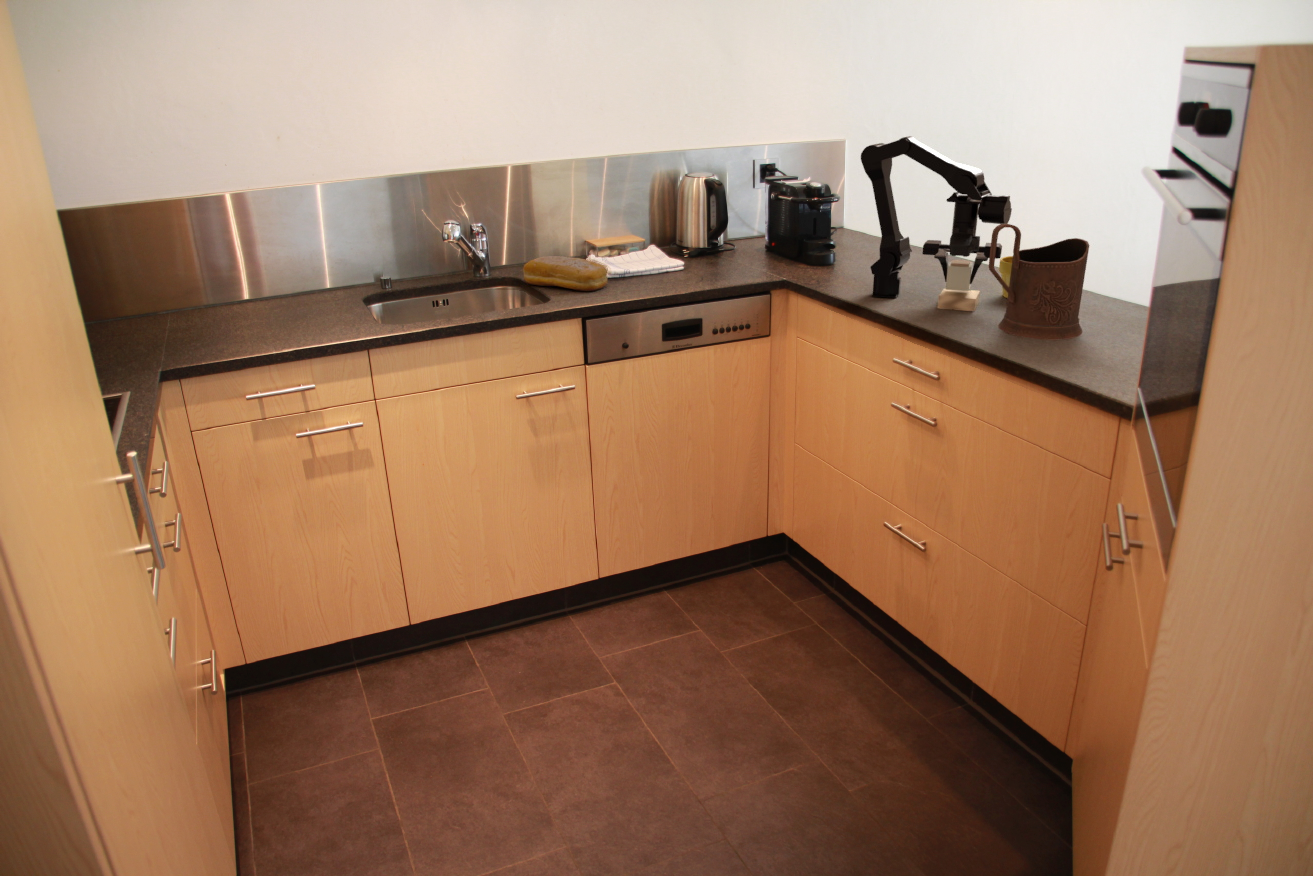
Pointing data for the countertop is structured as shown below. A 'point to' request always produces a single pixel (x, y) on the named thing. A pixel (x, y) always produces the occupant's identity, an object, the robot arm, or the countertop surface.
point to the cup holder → (1043, 288)
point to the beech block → (958, 299)
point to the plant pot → (1005, 271)
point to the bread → (565, 273)
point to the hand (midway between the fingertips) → (958, 282)
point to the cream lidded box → (959, 275)
